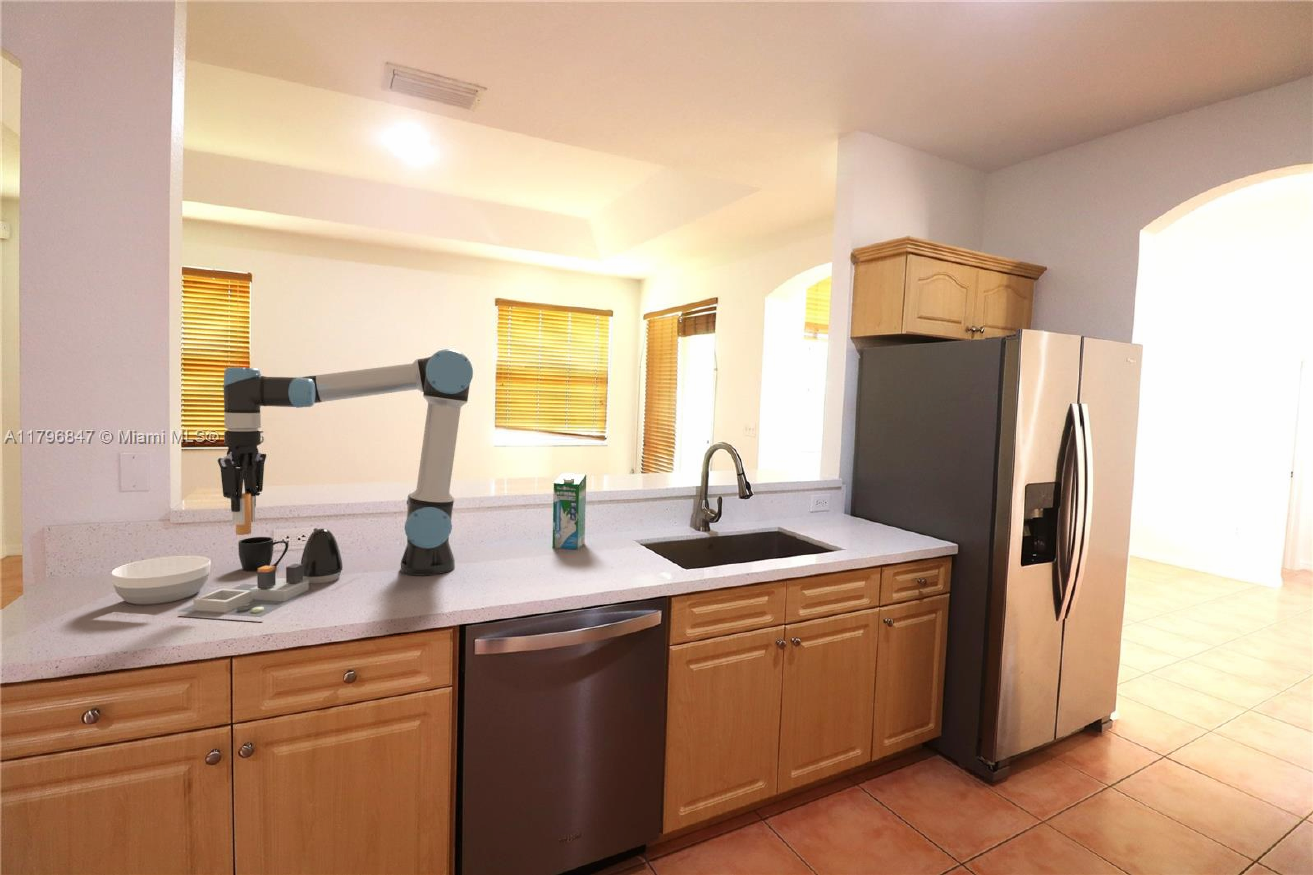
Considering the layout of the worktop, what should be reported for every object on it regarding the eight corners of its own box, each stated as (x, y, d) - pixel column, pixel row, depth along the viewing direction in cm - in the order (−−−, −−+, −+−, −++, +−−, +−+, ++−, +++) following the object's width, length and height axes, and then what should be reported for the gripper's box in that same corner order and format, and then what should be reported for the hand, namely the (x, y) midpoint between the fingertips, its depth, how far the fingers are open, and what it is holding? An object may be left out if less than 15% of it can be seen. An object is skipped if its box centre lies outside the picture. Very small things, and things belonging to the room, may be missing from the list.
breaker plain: (303, 579, 157) (303, 564, 156) (295, 583, 154) (295, 567, 153) (294, 579, 157) (294, 563, 157) (286, 582, 154) (286, 567, 154)
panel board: (316, 594, 159) (316, 579, 158) (260, 623, 139) (260, 605, 139) (243, 589, 160) (243, 574, 160) (178, 617, 141) (177, 600, 140)
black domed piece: (335, 575, 174) (335, 522, 173) (348, 585, 167) (347, 529, 166) (294, 582, 167) (294, 527, 166) (306, 592, 160) (305, 535, 159)
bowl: (158, 587, 160) (157, 554, 159) (229, 590, 160) (228, 557, 159) (89, 613, 141) (88, 576, 141) (169, 617, 141) (168, 579, 140)
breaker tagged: (275, 585, 152) (275, 565, 152) (267, 588, 149) (266, 569, 149) (266, 584, 152) (265, 565, 152) (257, 588, 149) (257, 568, 149)
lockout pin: (254, 532, 157) (254, 493, 156) (244, 535, 154) (244, 495, 153) (242, 531, 157) (242, 492, 156) (232, 534, 154) (232, 494, 153)
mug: (284, 575, 173) (284, 542, 172) (234, 578, 169) (234, 544, 168) (291, 567, 181) (291, 535, 180) (244, 570, 177) (243, 537, 176)
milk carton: (552, 547, 213) (553, 476, 211) (560, 541, 222) (562, 472, 220) (577, 549, 212) (579, 477, 210) (584, 543, 220) (586, 474, 219)
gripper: (252, 427, 162) (253, 515, 163) (202, 430, 146) (204, 528, 148) (279, 428, 161) (279, 517, 163) (231, 432, 145) (233, 530, 147)
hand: (243, 522), depth 155 cm, fingers closed on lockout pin, 3 cm apart
